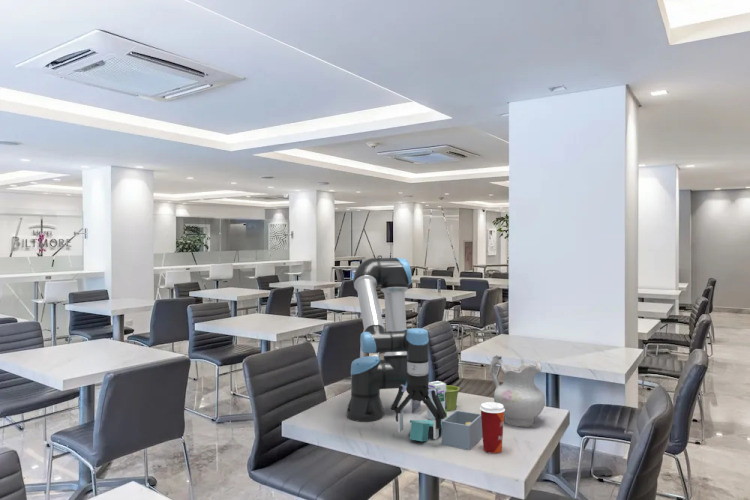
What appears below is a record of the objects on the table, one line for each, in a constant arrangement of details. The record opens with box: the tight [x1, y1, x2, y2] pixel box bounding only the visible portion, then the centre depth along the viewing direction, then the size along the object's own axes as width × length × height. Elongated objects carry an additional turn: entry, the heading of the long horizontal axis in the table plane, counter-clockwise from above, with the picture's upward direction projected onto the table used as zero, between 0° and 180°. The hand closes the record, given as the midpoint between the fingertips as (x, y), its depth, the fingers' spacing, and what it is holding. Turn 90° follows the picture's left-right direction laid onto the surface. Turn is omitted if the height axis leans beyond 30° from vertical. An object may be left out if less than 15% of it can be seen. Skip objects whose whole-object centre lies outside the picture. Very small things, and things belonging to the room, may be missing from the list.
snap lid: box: [409, 419, 442, 442], centre depth 186 cm, size 23×11×6 cm, turn 150°
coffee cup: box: [479, 401, 505, 454], centre depth 171 cm, size 8×8×15 cm
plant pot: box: [446, 384, 460, 412], centre depth 216 cm, size 9×9×9 cm
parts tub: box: [441, 409, 483, 451], centre depth 179 cm, size 14×10×8 cm
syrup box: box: [426, 380, 448, 422], centre depth 202 cm, size 6×6×14 cm
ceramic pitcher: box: [489, 355, 546, 428], centre depth 199 cm, size 22×20×25 cm
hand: (418, 434), depth 178 cm, fingers open, 13 cm apart
